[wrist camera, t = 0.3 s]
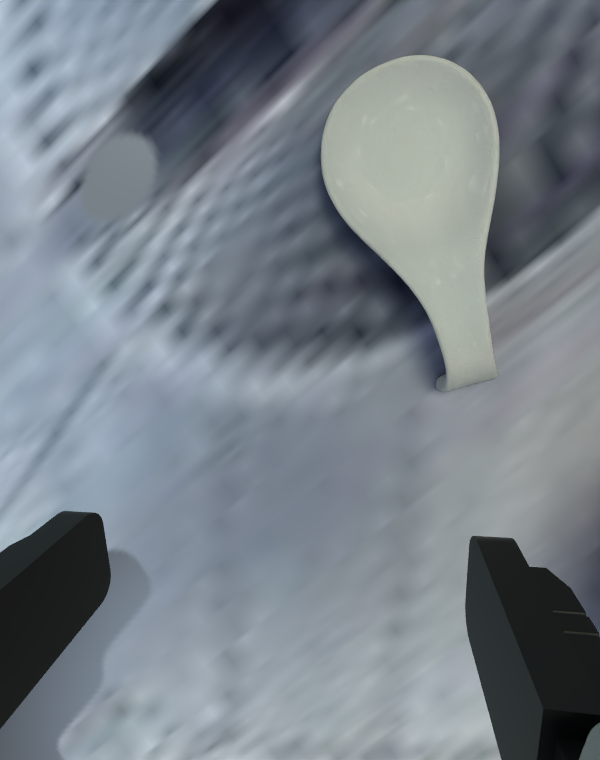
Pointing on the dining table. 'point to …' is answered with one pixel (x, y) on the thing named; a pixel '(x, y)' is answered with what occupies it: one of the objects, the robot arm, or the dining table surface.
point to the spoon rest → (423, 193)
